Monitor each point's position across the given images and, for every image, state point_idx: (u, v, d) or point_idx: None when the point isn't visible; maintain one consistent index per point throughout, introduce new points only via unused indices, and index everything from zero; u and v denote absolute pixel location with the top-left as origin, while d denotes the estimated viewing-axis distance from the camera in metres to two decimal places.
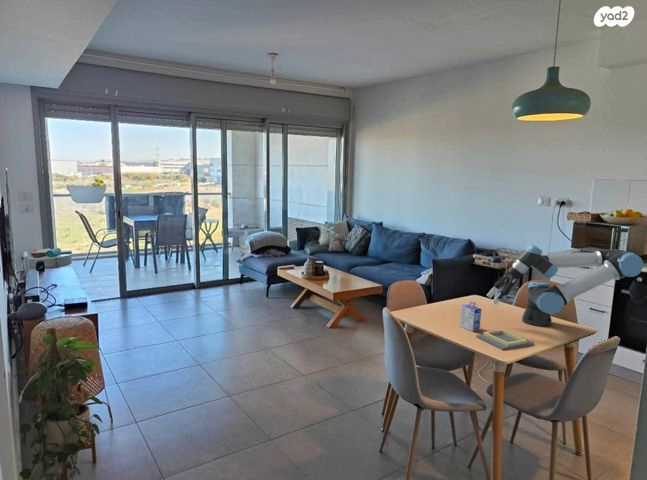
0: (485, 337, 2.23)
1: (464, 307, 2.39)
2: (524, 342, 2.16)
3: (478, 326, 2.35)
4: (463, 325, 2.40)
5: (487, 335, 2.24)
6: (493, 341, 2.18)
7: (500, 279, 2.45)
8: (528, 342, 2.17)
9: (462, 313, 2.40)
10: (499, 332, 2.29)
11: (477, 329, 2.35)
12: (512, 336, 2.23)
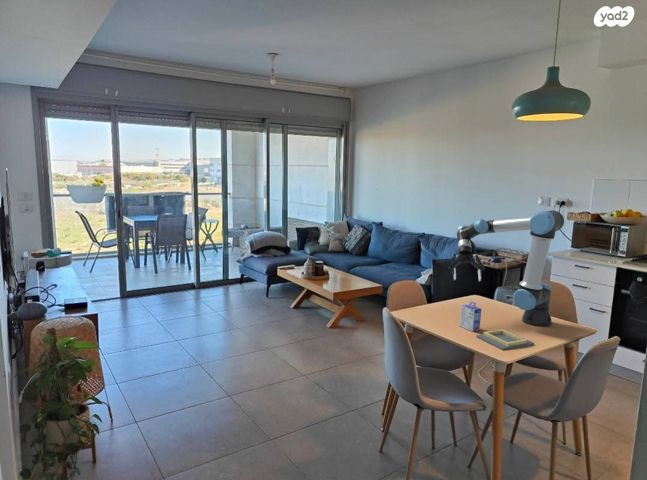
0: (485, 337, 2.23)
1: (464, 307, 2.39)
2: (524, 342, 2.16)
3: (478, 326, 2.35)
4: (463, 325, 2.40)
5: (487, 335, 2.24)
6: (493, 341, 2.18)
7: (478, 264, 2.56)
8: (528, 342, 2.17)
9: (462, 313, 2.40)
10: (499, 332, 2.29)
11: (477, 329, 2.35)
12: (512, 336, 2.23)
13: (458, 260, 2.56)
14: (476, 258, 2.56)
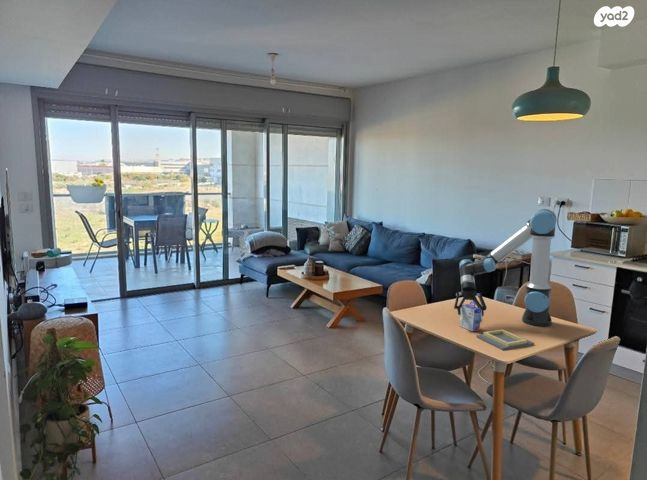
0: (485, 337, 2.23)
1: (464, 307, 2.39)
2: (524, 342, 2.16)
3: (478, 325, 2.35)
4: (463, 325, 2.40)
5: (487, 335, 2.24)
6: (493, 341, 2.18)
7: None
8: (528, 342, 2.17)
9: (462, 313, 2.40)
10: (499, 332, 2.29)
11: (477, 329, 2.35)
12: (512, 336, 2.23)
13: None
14: (479, 296, 2.42)
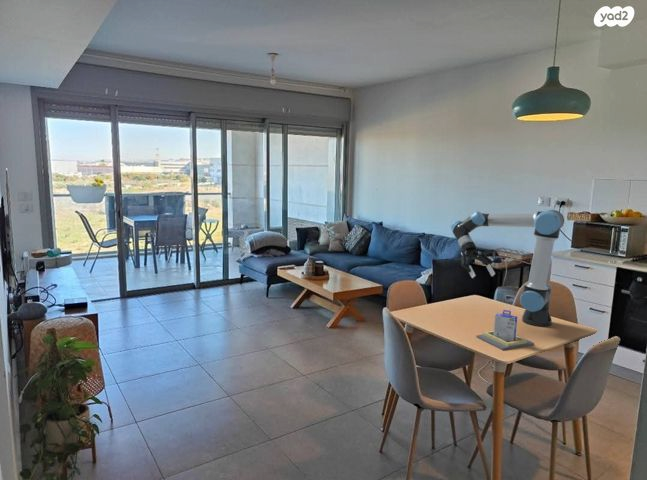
0: (485, 337, 2.23)
1: (499, 317, 2.19)
2: (524, 342, 2.16)
3: (515, 335, 2.19)
4: (499, 336, 2.20)
5: (487, 335, 2.24)
6: (493, 341, 2.18)
7: None
8: (528, 342, 2.17)
9: (497, 324, 2.20)
10: None
11: (515, 338, 2.19)
12: None
13: (469, 257, 2.46)
14: (481, 253, 2.51)
